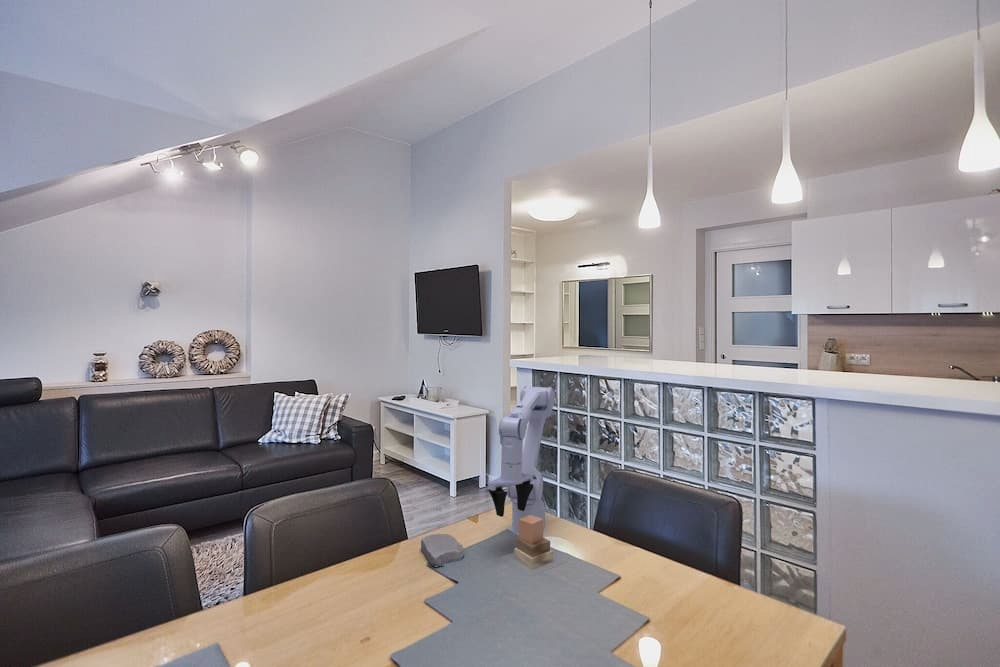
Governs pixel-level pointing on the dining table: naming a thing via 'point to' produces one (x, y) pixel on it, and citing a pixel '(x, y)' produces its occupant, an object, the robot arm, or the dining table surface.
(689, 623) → the dining table surface
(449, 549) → the stone block
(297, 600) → the dining table surface
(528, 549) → the walnut slab
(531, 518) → the terracotta block
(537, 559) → the beech slab
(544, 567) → the felt mat
